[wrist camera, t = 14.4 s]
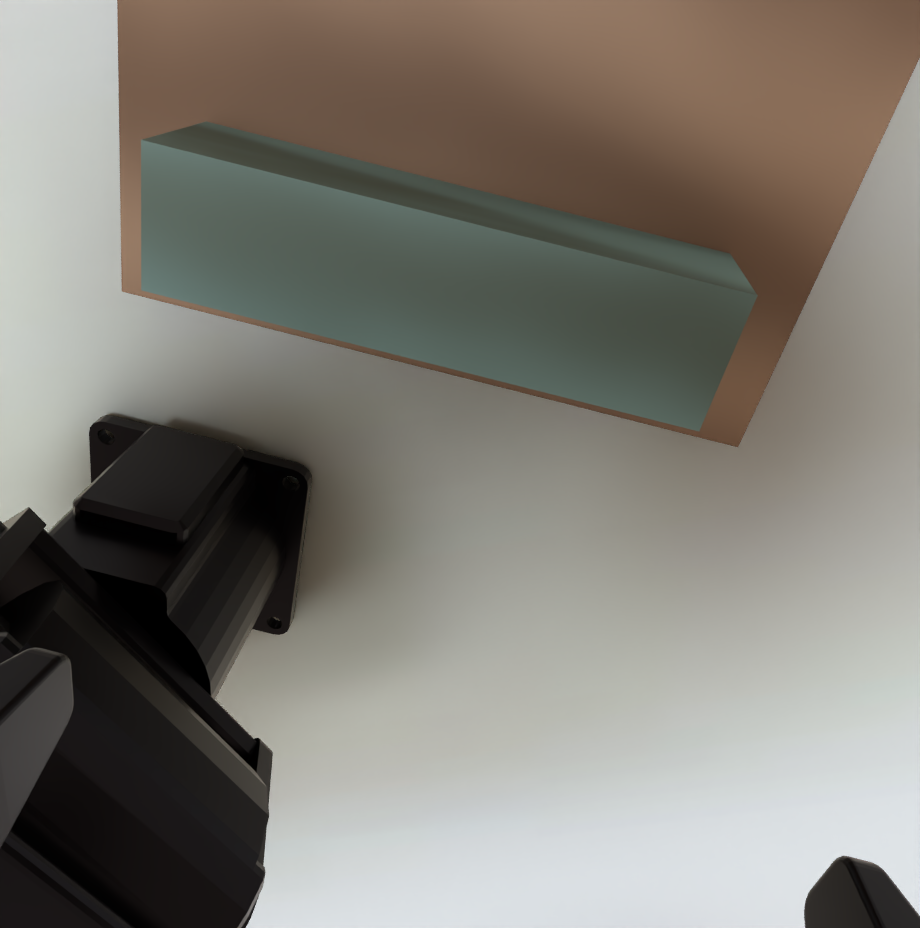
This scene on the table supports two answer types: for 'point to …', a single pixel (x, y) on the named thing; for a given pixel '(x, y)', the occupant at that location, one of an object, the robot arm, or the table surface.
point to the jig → (510, 181)
